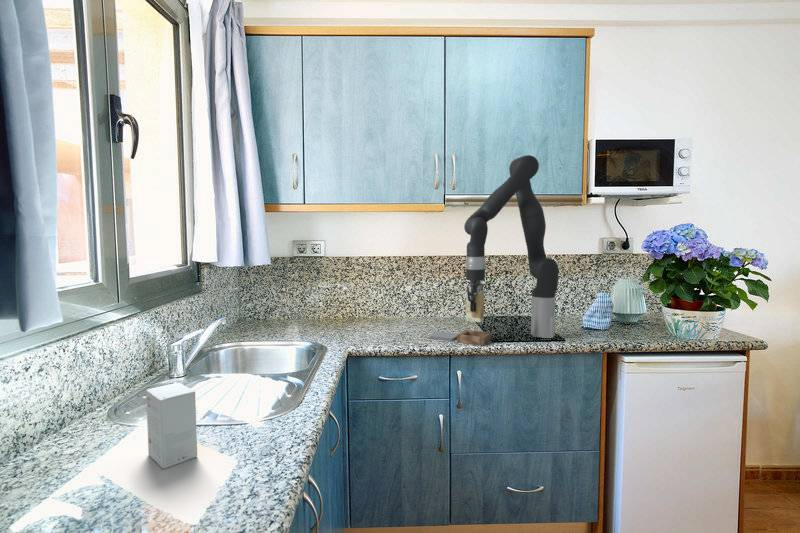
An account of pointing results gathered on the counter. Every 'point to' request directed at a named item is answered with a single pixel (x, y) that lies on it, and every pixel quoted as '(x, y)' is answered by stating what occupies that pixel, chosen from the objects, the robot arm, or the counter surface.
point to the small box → (171, 424)
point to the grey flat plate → (444, 336)
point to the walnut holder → (474, 337)
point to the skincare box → (479, 312)
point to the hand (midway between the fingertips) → (475, 310)
